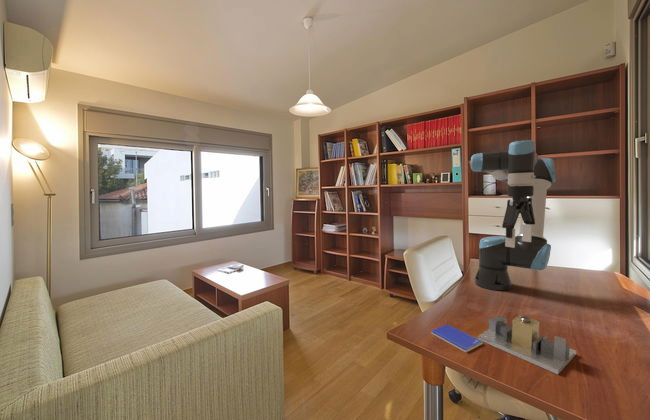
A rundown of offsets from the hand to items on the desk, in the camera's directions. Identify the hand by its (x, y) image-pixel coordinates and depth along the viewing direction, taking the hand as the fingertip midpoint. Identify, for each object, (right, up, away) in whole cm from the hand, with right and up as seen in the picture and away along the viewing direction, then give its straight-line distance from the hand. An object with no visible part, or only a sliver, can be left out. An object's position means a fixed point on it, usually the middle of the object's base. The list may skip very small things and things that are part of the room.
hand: (518, 244), depth 99 cm
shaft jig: (-10, -29, -17) cm, 35 cm away
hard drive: (-28, -30, -11) cm, 42 cm away
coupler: (-10, -27, -17) cm, 34 cm away
